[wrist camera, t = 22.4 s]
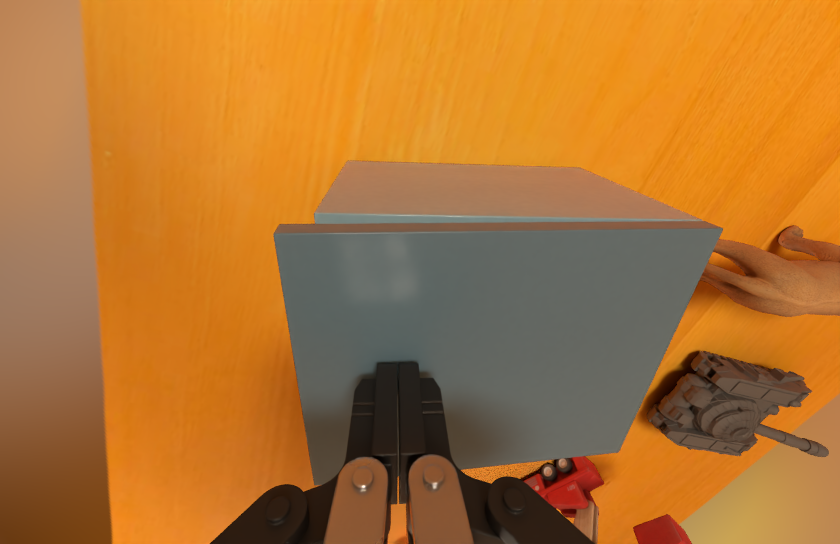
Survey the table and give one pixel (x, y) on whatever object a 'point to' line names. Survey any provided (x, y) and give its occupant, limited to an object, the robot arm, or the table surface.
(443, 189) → the washer
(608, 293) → the lid
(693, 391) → the tank toy
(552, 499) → the toy fire truck
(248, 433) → the table surface
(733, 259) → the lion figurine
